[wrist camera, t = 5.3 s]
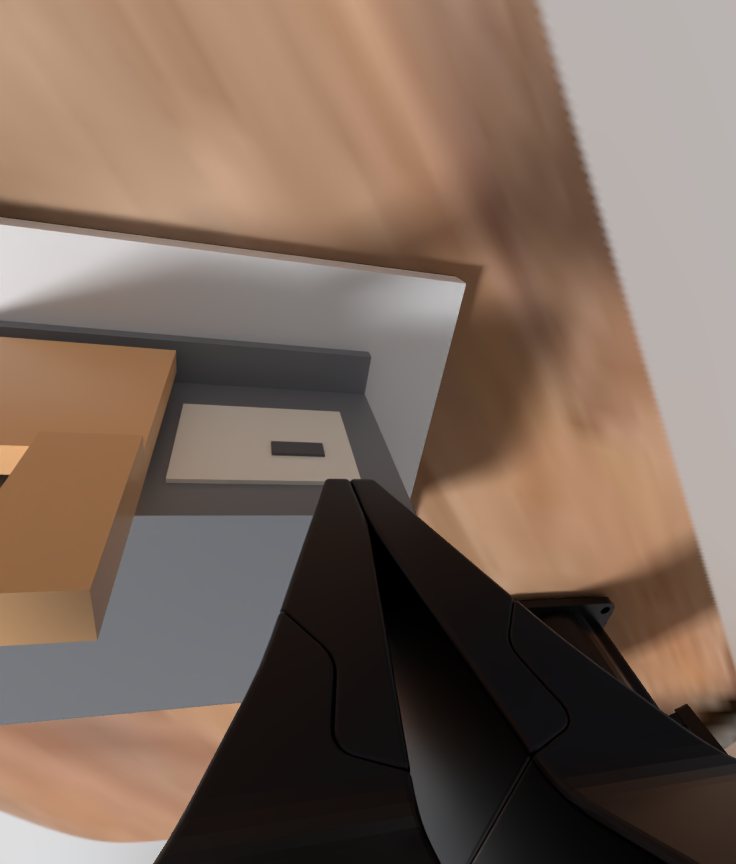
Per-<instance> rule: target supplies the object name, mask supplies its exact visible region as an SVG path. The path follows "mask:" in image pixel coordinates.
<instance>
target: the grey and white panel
mask: <svg viewBox="0 0 736 864" xmlns="http://www.w3.org/2000/svg"><path fill="white" fill-rule="evenodd" d="M465 287H466V283H465V282H463V281H462V280H460V279H459V278H458V277H455V276H447V275H440V274H432V273H424V272H417V271H409V270H401V269H394V268H386V267H378V266H371V265H363V264H355V263H348V262H340V261H332V260H325V259H317V258H309V257H302V256H294V255H287V254H279V253H271V252H264V251H256V250H248V249H241V248H233V247H225V246H218V245H210V244H202V243H195V242H187V241H179V240H172V239H164V238H156V237H149V236H141V235H133V234H126V233H118V232H110V231H103V230H95V229H87V228H80V227H72V226H64V225H57V224H49V223H42V222H34V221H26V220H19V219H11V218H3V217H0V337H11V338H23V339H36V340H49V341H62V342H75V343H88V344H100V345H113V346H126V347H139V348H152V349H165V350H176V371H177V372H176V375H175V379H174V382H173V385H172V389H171V392H170V396H169V399H168V402H167V406H166V409H165V413H164V416H163V419H162V423H161V426H160V430H159V433H158V436H157V440H156V443H155V447H154V450H153V453H152V457H151V460H150V463H149V467H148V470H147V474H146V477H145V480H144V484H143V487H142V491H141V494H140V497H139V501H138V504H137V508H136V511H135V514H134V518H133V521H132V525H131V528H130V531H129V535H128V538H127V542H126V545H125V548H124V552H123V555H122V558H121V562H120V565H119V569H118V572H117V575H116V579H115V582H114V586H113V589H112V592H111V596H110V599H109V603H108V606H107V609H106V613H105V616H104V620H103V623H102V626H101V630H100V633H99V637H98V640H97V641H80V642H63V643H46V644H29V645H12V646H0V725H7V724H18V723H29V722H39V721H50V720H61V719H71V718H82V717H93V716H104V715H114V714H125V713H136V712H146V711H157V710H168V709H178V708H189V707H200V706H210V705H221V704H232V703H242V701H243V699H244V697H245V695H246V693H247V691H248V689H249V687H250V685H251V682H252V680H253V678H254V676H255V674H256V672H257V670H258V668H259V666H260V663H261V661H262V658H263V655H264V653H265V650H266V648H267V645H268V643H269V640H270V638H271V635H272V632H273V629H274V626H275V623H276V620H277V617H278V615H279V614H280V610H281V607H282V604H283V601H284V598H285V595H286V592H287V589H288V587H289V584H290V581H291V578H292V575H293V572H294V569H295V566H296V563H297V560H298V558H299V555H300V552H301V549H302V546H303V543H304V540H305V537H306V534H307V531H308V529H309V526H310V523H311V520H312V517H313V514H314V511H315V508H316V505H317V502H318V500H319V497H320V494H321V491H322V488H323V485H324V482H325V480H326V479H348V480H349V481H351V480H352V479H373V480H375V481H376V482H377V483H379V484H380V485H381V486H382V487H383V488H385V489H386V490H387V491H388V492H389V493H390V494H392V495H393V496H394V497H395V498H396V499H398V500H399V501H400V502H401V503H402V504H403V505H405V506H406V507H407V508H408V509H409V510H411V511H412V512H413V513H414V514H415V515H416V512H415V510H414V508H413V505H412V503H411V501H410V498H411V495H412V491H413V487H414V483H415V479H416V475H417V471H418V468H419V464H420V460H421V456H422V452H423V448H424V445H425V441H426V437H427V433H428V429H429V425H430V421H431V418H432V414H433V410H434V406H435V402H436V398H437V395H438V391H439V387H440V383H441V379H442V375H443V371H444V368H445V364H446V360H447V356H448V352H449V348H450V345H451V341H452V337H453V333H454V329H455V325H456V321H457V318H458V314H459V310H460V306H461V302H462V298H463V295H464V291H465ZM8 477H9V475H4V474H0V488H1V487H2V485H3V484H4V482H5V481H6V480H7V478H8ZM416 516H417V515H416Z"/></svg>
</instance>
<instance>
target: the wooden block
mask: <svg viewBox="0 0 736 864" xmlns="http://www.w3.org/2000/svg"><path fill="white" fill-rule="evenodd" d="M176 372H177V371H176V350H165V349H152V348H139V347H126V346H113V345H100V344H88V343H75V342H62V341H49V340H36V339H23V338H11V337H0V474H4V475H9V477H8V478H7V480H6V481H5V482H4V484H3V485H2V487H1V488H0V646H12V645H29V644H46V643H63V642H80V641H97V640H98V637H99V633H100V630H101V626H102V623H103V620H104V616H105V613H106V609H107V606H108V603H109V599H110V596H111V592H112V589H113V586H114V582H115V579H116V575H117V572H118V569H119V565H120V562H121V558H122V555H123V552H124V548H125V545H126V542H127V538H128V535H129V531H130V528H131V525H132V521H133V518H134V514H135V511H136V508H137V504H138V501H139V497H140V494H141V491H142V487H143V484H144V480H145V477H146V474H147V470H148V467H149V463H150V460H151V457H152V453H153V450H154V447H155V443H156V440H157V436H158V433H159V430H160V426H161V423H162V419H163V416H164V413H165V409H166V406H167V402H168V399H169V396H170V392H171V389H172V385H173V382H174V379H175V375H176Z"/></svg>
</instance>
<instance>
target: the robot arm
mask: <svg viewBox="0 0 736 864" xmlns="http://www.w3.org/2000/svg"><path fill="white" fill-rule="evenodd" d="M614 608H615V606H614V604H613V603H612V602H611V600H610V599H609V598H608V597H592V598H573V599H553V600H533V601H513V597H512V596H511V595H510V594H509V593H507V592H506V591H505V590H504V589H503V588H502V587H500V586H499V585H498V584H497V583H496V582H494V581H493V580H492V579H491V578H490V577H489V576H487V575H486V574H485V573H484V572H483V571H481V570H480V569H479V568H478V567H477V566H476V565H474V564H473V563H472V562H471V561H470V560H468V559H467V558H466V557H465V556H464V555H463V554H461V553H460V552H459V551H458V550H457V549H455V548H454V547H453V546H452V545H451V544H450V543H448V542H447V541H446V540H445V539H444V538H442V537H441V536H440V535H439V534H438V533H437V532H435V531H434V530H433V529H432V528H431V527H429V526H428V525H427V524H426V523H425V522H424V521H422V520H421V519H420V518H419V517H418V516H416V515H415V514H414V513H413V512H412V511H411V510H409V509H408V508H407V507H406V506H405V505H403V504H402V503H401V502H400V501H399V500H398V499H396V498H395V497H394V496H393V495H392V494H390V493H389V492H388V491H387V490H386V489H385V488H383V487H382V486H381V485H380V484H379V483H377V482H376V481H375V480H373V479H352V480H351V481H349V480H348V479H326V480H325V482H324V485H323V488H322V491H321V494H320V497H319V500H318V502H317V505H316V508H315V511H314V514H313V517H312V520H311V523H310V526H309V529H308V531H307V534H306V537H305V540H304V543H303V546H302V549H301V552H300V555H299V558H298V560H297V563H296V566H295V569H294V572H293V575H292V578H291V581H290V584H289V587H288V589H287V592H286V595H285V598H284V601H283V604H282V607H281V610H280V614H279V615H278V617H277V620H276V623H275V626H274V629H273V632H272V635H271V638H270V640H269V643H268V645H267V648H266V650H265V653H264V655H263V658H262V661H261V663H260V666H259V668H258V670H257V672H256V674H255V676H254V678H253V680H252V682H251V685H250V687H249V689H248V691H247V693H246V695H245V697H244V699H243V701H242V703H241V705H240V707H239V709H238V711H237V713H236V715H235V717H234V719H233V721H232V723H231V724H230V726H229V728H228V730H227V732H226V734H225V736H224V738H223V740H222V742H221V743H220V745H219V747H218V749H217V751H216V753H215V755H214V757H213V759H212V761H211V762H210V764H209V766H208V768H207V770H206V772H205V774H204V776H203V778H202V780H201V782H200V783H199V785H198V787H197V789H196V791H195V793H194V795H193V797H192V799H191V801H190V802H189V804H188V806H187V808H186V810H185V811H184V813H183V815H182V817H181V818H180V820H179V822H178V824H177V826H176V827H175V829H174V831H173V832H172V834H171V836H170V837H169V839H168V841H167V843H166V844H165V846H164V847H163V849H162V851H161V852H160V854H159V855H158V857H157V858H156V860H155V862H154V863H153V864H736V758H734V757H731V756H730V755H728V754H727V753H726V752H725V750H724V749H723V748H722V747H721V745H720V744H719V743H718V742H717V740H716V739H715V738H714V737H713V735H712V734H711V733H710V732H709V730H708V729H707V728H706V727H705V725H704V724H703V723H702V722H701V721H700V719H699V718H698V717H697V716H696V714H695V713H694V712H693V711H692V709H691V708H690V707H689V706H688V704H685V705H683V706H681V707H679V708H677V709H675V713H673V714H671V715H669V716H668V715H667V714H665V713H664V712H662V711H661V710H660V709H659V708H658V706H657V705H656V703H655V702H654V700H653V699H652V698H651V696H650V695H649V693H648V692H647V690H646V689H645V688H644V686H643V685H642V683H641V682H640V680H639V679H638V678H637V676H636V675H635V673H634V672H633V671H632V669H631V668H630V666H629V665H628V663H627V662H626V661H625V659H624V658H623V656H622V655H621V653H620V652H619V651H618V649H617V648H616V646H615V645H614V643H613V642H612V641H611V639H610V638H609V636H608V635H607V634H606V632H605V631H604V629H603V627H604V626H605V624H606V622H607V620H608V619H609V617H610V615H611V614H612V612H613V610H614Z"/></svg>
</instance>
